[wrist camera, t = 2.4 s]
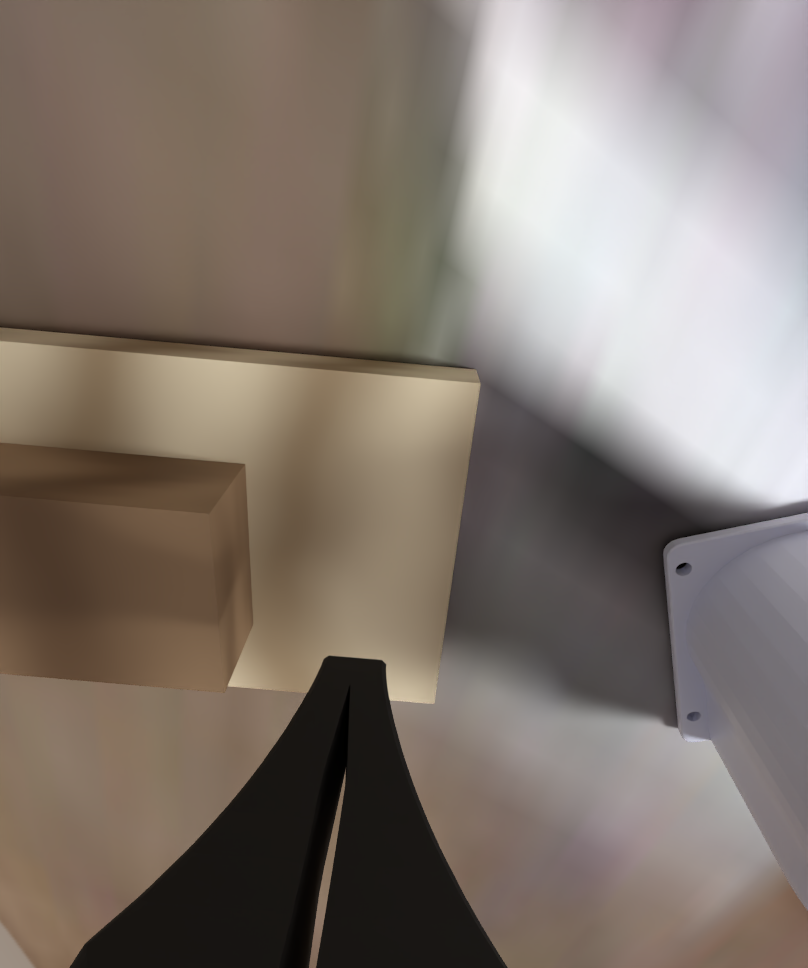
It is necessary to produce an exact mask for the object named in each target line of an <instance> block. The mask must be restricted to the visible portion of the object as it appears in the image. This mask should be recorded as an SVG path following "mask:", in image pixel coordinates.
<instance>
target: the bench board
mask: <svg viewBox="0 0 808 968" xmlns="http://www.w3.org/2000/svg"><path fill="white" fill-rule="evenodd" d="M479 390H480V381H479V377H478V374H477V371H476V369H465V368H453V367H442V366H431V365H419V364H408V363H397V362H386V361H374V360H363V359H352V358H340V357H329V356H318V355H306V354H295V353H284V352H273V351H261V350H250V349H239V348H227V347H216V346H205V345H194V344H182V343H171V342H160V341H148V340H137V339H126V338H114V337H103V336H92V335H81V334H69V333H58V332H47V331H35V330H24V329H13V328H2V327H0V443H11V444H22V445H34V446H45V447H57V448H68V449H79V450H91V451H102V452H114V453H125V454H136V455H148V456H159V457H171V458H182V459H193V460H205V461H216V462H228V463H239V464H245V469H246V488H247V508H248V528H249V548H250V567H251V587H252V607H253V626H252V629H251V631H250V634H249V636H248V638H247V641H246V643H245V646H244V648H243V650H242V653H241V655H240V657H239V660H238V662H237V665H236V667H235V669H234V672H233V674H232V676H231V679H230V681H229V684H228V686H232V687H243V688H255V689H267V690H278V691H290V692H301V693H308V691H309V689H310V687H311V686H312V684H313V682H314V680H315V678H316V676H317V674H318V671H319V669H320V667H321V665H322V662H323V659H324V658H326V657H327V656H341V657H353V658H365V659H377V660H382V661H383V662H384V663H385V664H386V679H387V688H388V695H389V700H394V701H406V702H417V703H429V704H434V701H435V694H436V688H437V681H438V674H439V667H440V660H441V653H442V646H443V639H444V632H445V625H446V618H447V611H448V605H449V598H450V591H451V584H452V577H453V570H454V563H455V556H456V549H457V542H458V535H459V529H460V522H461V515H462V508H463V501H464V494H465V487H466V480H467V473H468V466H469V459H470V452H471V446H472V439H473V432H474V425H475V418H476V411H477V404H478V397H479Z"/></svg>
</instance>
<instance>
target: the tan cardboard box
mask: <svg viewBox="0 0 808 968" xmlns="http://www.w3.org/2000/svg"><path fill="white" fill-rule="evenodd" d="M252 626H253V607H252V587H251V567H250V548H249V528H248V508H247V488H246V469H245V464H239V463H228V462H216V461H205V460H193V459H182V458H171V457H159V456H148V455H136V454H125V453H114V452H102V451H91V450H79V449H68V448H57V447H45V446H34V445H22V444H11V443H0V674H12V675H23V676H35V677H47V678H58V679H70V680H81V681H93V682H105V683H116V684H128V685H139V686H151V687H163V688H174V689H186V690H197V691H209V692H221V693H225V691H226V688H227V686H228V684H229V681H230V679H231V676H232V674H233V672H234V669H235V667H236V665H237V662H238V660H239V657H240V655H241V653H242V650H243V648H244V646H245V643H246V641H247V638H248V636H249V634H250V631H251V629H252Z"/></svg>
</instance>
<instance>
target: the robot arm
mask: <svg viewBox="0 0 808 968" xmlns="http://www.w3.org/2000/svg"><path fill="white" fill-rule="evenodd" d="M663 558H664V570H665V581H666V593H667V604H668V616H669V627H670V639H671V650H672V662H673V673H674V685H675V696H676V708H677V719H678V729H679V732H680V734H681V736H682V738H683V739H684V740H686V741H689V742H699V741H706V740H711V741H712V742H713V744H714V746H715V748H716V750H717V752H718V753H719V755H720V757H721V759H722V761H723V763H724V764H725V766H726V768H727V770H728V772H729V774H730V775H731V777H732V779H733V781H734V783H735V785H736V786H737V788H738V790H739V792H740V794H741V796H742V798H743V799H744V801H745V803H746V805H747V807H748V809H749V810H750V812H751V814H752V816H753V818H754V820H755V821H756V823H757V825H758V827H759V829H760V831H761V832H762V834H763V836H764V838H765V840H766V842H767V843H768V845H769V847H770V849H771V851H772V853H773V855H774V856H775V858H776V860H777V862H778V864H779V866H780V867H781V869H782V871H783V873H784V875H785V877H786V878H787V880H788V882H789V884H790V886H791V887H792V889H793V890H794V892H795V893H796V895H797V896H798V898H799V899H800V901H801V902H802V904H803V905H804V906H805V908H806V909H807V910H808V513H803V514H798V515H793V516H788V517H783V518H778V519H773V520H768V521H763V522H758V523H753V524H749V525H744V526H739V527H734V528H729V529H724V530H719V531H714V532H709V533H704V534H699V535H694V536H689V537H684V538H679V539H676V540H673V541H671V542H670V543H669V544H667V545H666V547H665V548H664V552H663ZM682 563H687V564H686V565H685V566H684V567H683V568H681V569H676V567H677V566H678V565H679V564H682ZM345 769H346V782H345V791H344V798H343V805H342V811H341V818H340V825H339V831H338V838H337V844H336V851H335V857H334V863H333V870H332V876H331V882H330V888H329V894H328V901H327V907H326V913H325V919H324V925H323V931H322V937H321V943H320V948H319V954H318V960H317V966H316V968H507V966H506V965H505V963H504V961H503V960H502V958H501V957H500V955H499V954H498V952H497V950H496V949H495V947H494V946H493V944H492V942H491V941H490V939H489V937H488V936H487V934H486V932H485V931H484V929H483V927H482V926H481V924H480V922H479V920H478V919H477V917H476V915H475V913H474V912H473V910H472V908H471V906H470V905H469V903H468V901H467V899H466V898H465V896H464V894H463V892H462V890H461V888H460V886H459V884H458V882H457V880H456V878H455V876H454V874H453V872H452V870H451V868H450V867H449V865H448V863H447V861H446V859H445V857H444V855H443V853H442V851H441V849H440V847H439V844H438V842H437V840H436V838H435V836H434V833H433V831H432V829H431V827H430V825H429V822H428V820H427V817H426V815H425V813H424V810H423V808H422V805H421V803H420V800H419V798H418V795H417V793H416V790H415V787H414V785H413V782H412V779H411V776H410V773H409V770H408V767H407V764H406V761H405V758H404V755H403V752H402V749H401V745H400V742H399V738H398V734H397V731H396V727H395V723H394V719H393V715H392V710H391V705H390V700H389V695H388V688H387V679H386V664H385V663H384V662H383V661H382V660H377V659H365V658H353V657H341V656H327V657H326V658H324V659H323V662H322V665H321V667H320V669H319V671H318V674H317V676H316V678H315V680H314V682H313V684H312V686H311V687H310V689H309V691H308V693H307V695H306V696H305V698H304V700H303V702H302V704H301V705H300V707H299V708H298V710H297V712H296V713H295V715H294V716H293V718H292V720H291V721H290V723H289V725H288V726H287V728H286V729H285V731H284V732H283V734H282V735H281V737H280V738H279V740H278V741H277V742H276V744H275V745H274V747H273V748H272V750H271V751H270V752H269V754H268V755H267V757H266V758H265V759H264V761H263V762H262V764H261V765H260V766H259V768H258V769H257V770H256V772H255V773H254V774H253V776H252V777H251V778H250V779H249V781H248V782H247V783H246V784H245V786H244V787H243V788H242V789H241V791H240V792H239V793H238V794H237V795H236V797H235V798H234V799H233V800H232V802H231V803H230V804H229V805H228V806H227V807H226V808H225V810H224V811H223V812H222V813H221V814H220V815H219V816H218V817H217V819H216V820H215V821H214V822H213V823H212V824H211V825H210V826H209V828H208V829H207V830H206V831H205V832H204V833H203V834H202V835H201V836H200V837H199V838H198V839H197V841H196V842H195V843H194V844H193V845H192V846H191V847H190V848H189V849H188V850H187V851H186V852H185V853H184V854H183V855H182V856H181V857H180V858H179V859H178V860H177V861H176V862H175V863H174V864H173V865H172V866H171V867H169V868H168V869H167V870H166V871H165V872H164V873H163V874H162V875H161V876H160V877H159V878H158V879H157V880H156V881H155V882H154V883H153V884H152V885H151V886H150V887H149V888H148V889H147V890H146V891H145V892H144V893H142V894H141V895H140V896H139V897H138V898H137V899H136V900H135V901H134V902H132V903H131V904H130V905H129V906H128V907H127V908H125V909H124V910H123V911H122V912H121V913H120V914H119V915H117V916H116V917H115V918H114V919H113V920H112V921H111V922H109V923H108V924H107V925H106V926H105V927H104V928H103V929H101V930H100V931H99V932H98V933H97V934H96V935H94V936H93V937H92V938H91V939H90V940H89V941H88V942H87V943H86V944H85V945H84V946H83V948H82V949H81V951H80V952H79V954H78V955H77V957H76V958H75V960H74V962H73V963H72V965H71V966H70V968H309V962H310V955H311V947H312V940H313V933H314V926H315V919H316V911H317V904H318V897H319V891H320V886H321V880H322V875H323V870H324V865H325V860H326V856H327V851H328V847H329V842H330V838H331V833H332V829H333V824H334V820H335V815H336V811H337V806H338V801H339V797H340V792H341V788H342V783H343V779H344V774H345Z"/></svg>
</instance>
